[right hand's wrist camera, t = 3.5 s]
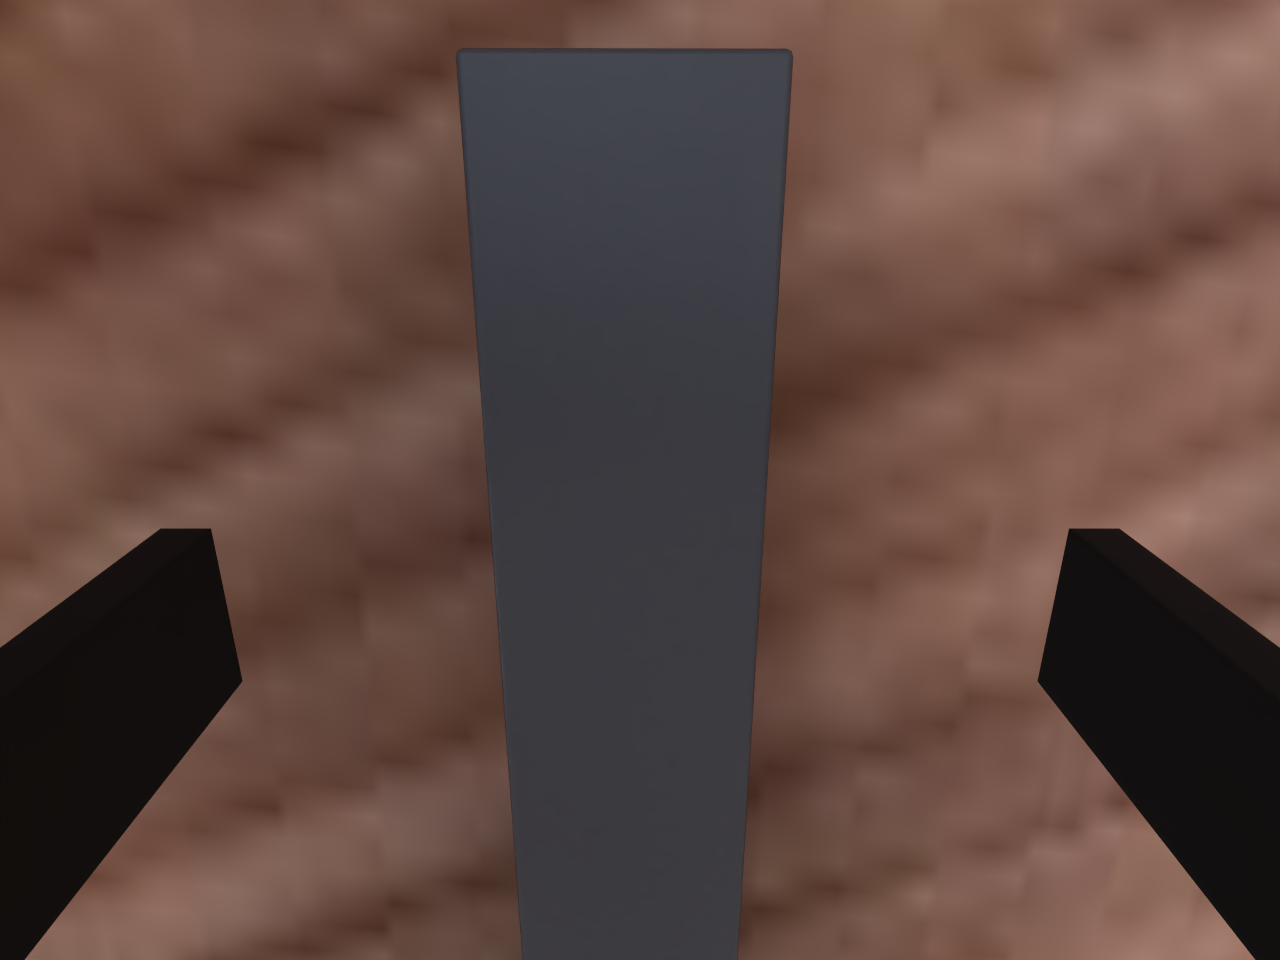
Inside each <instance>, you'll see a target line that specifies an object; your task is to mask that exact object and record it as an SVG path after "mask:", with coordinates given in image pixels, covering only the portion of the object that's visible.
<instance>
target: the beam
mask: <svg viewBox="0 0 1280 960" xmlns="http://www.w3.org/2000/svg"><path fill="white" fill-rule="evenodd" d="M456 63H457V77H458V90H459V104H460V117H461V131H462V145H463V158H464V172H465V185H466V199H467V212H468V226H469V239H470V253H471V267H472V280H473V294H474V307H475V321H476V334H477V348H478V361H479V375H480V389H481V402H482V416H483V429H484V443H485V456H486V470H487V483H488V497H489V511H490V524H491V538H492V551H493V565H494V578H495V592H496V605H497V619H498V633H499V646H500V660H501V673H502V687H503V700H504V714H505V727H506V741H507V755H508V768H509V782H510V795H511V809H512V822H513V836H514V849H515V863H516V877H517V890H518V904H519V917H520V931H521V944H522V958H523V960H738V944H739V927H740V911H741V895H742V879H743V862H744V846H745V830H746V814H747V797H748V781H749V765H750V749H751V732H752V716H753V700H754V684H755V667H756V651H757V635H758V619H759V602H760V586H761V570H762V554H763V538H764V521H765V505H766V489H767V473H768V456H769V440H770V424H771V408H772V391H773V375H774V359H775V343H776V326H777V310H778V294H779V278H780V261H781V245H782V229H783V213H784V196H785V180H786V164H787V148H788V131H789V115H790V99H791V83H792V66H793V55H792V51H790V50H788V49H608V48H462V49H460V50H458V51H457V54H456Z"/></svg>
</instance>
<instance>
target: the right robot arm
mask: <svg viewBox="0 0 1280 960" xmlns="http://www.w3.org/2000/svg"><path fill="white" fill-rule="evenodd" d="M241 682H242V677H241V672H240V667H239V662H238V658H237V653H236V648H235V643H234V638H233V633H232V628H231V624H230V619H229V614H228V609H227V604H226V599H225V595H224V590H223V585H222V580H221V575H220V570H219V566H218V561H217V556H216V551H215V546H214V541H213V536H212V532H211V529H160V530H158V531H157V532H156V533H154V534H153V535H152V536H150V537H149V538H148V539H146V540H145V541H143V542H142V543H141V544H139V545H138V546H137V547H135V548H134V549H133V550H131V551H130V552H129V553H127V554H126V555H125V556H123V557H122V558H121V559H119V560H118V561H117V562H115V563H114V564H112V565H111V566H110V567H108V568H107V569H106V570H104V571H103V572H102V573H100V574H99V575H98V576H96V577H95V578H94V579H92V580H91V581H90V582H88V583H87V584H86V585H84V586H83V587H82V588H80V589H79V590H77V591H76V592H75V593H73V594H72V595H71V596H69V597H68V598H67V599H65V600H64V601H63V602H61V603H60V604H59V605H57V606H56V607H55V608H53V609H52V610H51V611H49V612H48V613H46V614H45V615H44V616H42V617H41V618H40V619H38V620H37V621H36V622H34V623H33V624H32V625H30V626H29V627H28V628H26V629H25V630H24V631H22V632H21V633H20V634H18V635H17V636H15V637H14V638H13V639H11V640H10V641H9V642H7V643H6V644H5V645H3V646H2V647H1V648H0V960H25V958H26V957H27V956H28V955H29V953H30V952H31V951H32V950H33V948H34V947H35V946H36V944H37V943H38V942H39V941H40V939H41V938H42V937H43V935H44V934H45V933H46V932H47V930H48V929H49V928H50V927H51V925H52V924H53V923H54V921H55V920H56V919H57V918H58V916H59V915H60V914H61V912H62V911H63V910H64V909H65V907H66V906H67V905H68V904H69V902H70V901H71V900H72V898H73V897H74V896H75V895H76V893H77V892H78V891H79V889H80V888H81V887H82V886H83V884H84V883H85V882H86V880H87V879H88V878H89V877H90V875H91V874H92V873H93V872H94V870H95V869H96V868H97V866H98V865H99V864H100V863H101V861H102V860H103V859H104V857H105V856H106V855H107V854H108V852H109V851H110V850H111V849H112V847H113V846H114V845H115V843H116V842H117V841H118V840H119V838H120V837H121V836H122V834H123V833H124V832H125V831H126V829H127V828H128V827H129V826H130V824H131V823H132V822H133V820H134V819H135V818H136V817H137V815H138V814H139V813H140V811H141V810H142V809H143V808H144V806H145V805H146V804H147V803H148V801H149V800H150V799H151V797H152V796H153V795H154V794H155V792H156V791H157V790H158V788H159V787H160V786H161V785H162V783H163V782H164V781H165V780H166V778H167V777H168V776H169V774H170V773H171V772H172V771H173V769H174V768H175V767H176V765H177V764H178V763H179V762H180V760H181V759H182V758H183V756H184V755H185V754H186V753H187V751H188V750H189V749H190V748H191V746H192V745H193V744H194V742H195V741H196V740H197V739H198V737H199V736H200V735H201V733H202V732H203V731H204V730H205V728H206V727H207V726H208V725H209V723H210V722H211V721H212V719H213V718H214V717H215V716H216V714H217V713H218V712H219V710H220V709H221V708H222V707H223V705H224V704H225V703H226V702H227V700H228V699H229V698H230V696H231V695H232V694H233V693H234V691H235V690H236V689H237V687H238V686H239V685H240V684H241ZM1038 682H1039V684H1040V685H1041V686H1042V687H1043V689H1044V690H1045V691H1046V693H1047V694H1048V695H1049V696H1050V698H1051V699H1052V700H1053V702H1054V703H1055V704H1056V705H1057V707H1058V708H1059V709H1060V710H1061V712H1062V713H1063V714H1064V716H1065V717H1066V718H1067V719H1068V721H1069V722H1070V723H1071V725H1072V726H1073V727H1074V728H1075V730H1076V731H1077V732H1078V733H1079V735H1080V736H1081V737H1082V739H1083V740H1084V741H1085V742H1086V744H1087V745H1088V746H1089V748H1090V749H1091V750H1092V751H1093V753H1094V754H1095V755H1096V756H1097V758H1098V759H1099V760H1100V762H1101V763H1102V764H1103V765H1104V767H1105V768H1106V769H1107V771H1108V772H1109V773H1110V774H1111V776H1112V777H1113V778H1114V780H1115V781H1116V782H1117V783H1118V785H1119V786H1120V787H1121V788H1122V790H1123V791H1124V792H1125V794H1126V795H1127V796H1128V797H1129V799H1130V800H1131V801H1132V803H1133V804H1134V805H1135V806H1136V808H1137V809H1138V810H1139V811H1140V813H1141V814H1142V815H1143V817H1144V818H1145V819H1146V820H1147V822H1148V823H1149V824H1150V826H1151V827H1152V828H1153V829H1154V831H1155V832H1156V833H1157V834H1158V836H1159V837H1160V838H1161V840H1162V841H1163V842H1164V843H1165V845H1166V846H1167V847H1168V849H1169V850H1170V851H1171V852H1172V854H1173V855H1174V856H1175V857H1176V859H1177V860H1178V861H1179V863H1180V864H1181V865H1182V866H1183V868H1184V869H1185V870H1186V872H1187V873H1188V874H1189V875H1190V877H1191V878H1192V879H1193V880H1194V882H1195V883H1196V884H1197V886H1198V887H1199V888H1200V889H1201V891H1202V892H1203V893H1204V895H1205V896H1206V897H1207V898H1208V900H1209V901H1210V902H1211V904H1212V905H1213V906H1214V907H1215V909H1216V910H1217V911H1218V912H1219V914H1220V915H1221V916H1222V918H1223V919H1224V920H1225V921H1226V923H1227V924H1228V925H1229V927H1230V928H1231V929H1232V930H1233V932H1234V933H1235V934H1236V935H1237V937H1238V938H1239V939H1240V941H1241V942H1242V943H1243V944H1244V946H1245V947H1246V948H1247V950H1248V951H1249V952H1250V953H1251V955H1252V956H1253V957H1254V958H1255V960H1280V648H1279V647H1278V646H1277V645H1275V644H1274V643H1273V642H1271V641H1270V640H1269V639H1267V638H1266V637H1265V636H1263V635H1262V634H1260V633H1259V632H1258V631H1256V630H1255V629H1254V628H1252V627H1251V626H1250V625H1248V624H1247V623H1246V622H1244V621H1243V620H1242V619H1240V618H1239V617H1238V616H1236V615H1235V614H1234V613H1232V612H1231V611H1229V610H1228V609H1227V608H1225V607H1224V606H1223V605H1221V604H1220V603H1219V602H1217V601H1216V600H1215V599H1213V598H1212V597H1211V596H1209V595H1208V594H1207V593H1205V592H1204V591H1203V590H1201V589H1200V588H1198V587H1197V586H1196V585H1194V584H1193V583H1192V582H1190V581H1189V580H1188V579H1186V578H1185V577H1184V576H1182V575H1181V574H1180V573H1178V572H1177V571H1176V570H1174V569H1173V568H1172V567H1170V566H1169V565H1168V564H1166V563H1165V562H1163V561H1162V560H1161V559H1159V558H1158V557H1157V556H1155V555H1154V554H1153V553H1151V552H1150V551H1149V550H1147V549H1146V548H1145V547H1143V546H1142V545H1141V544H1139V543H1138V542H1137V541H1135V540H1134V539H1132V538H1131V537H1130V536H1128V535H1127V534H1126V533H1124V532H1123V531H1122V530H1120V529H1069V532H1068V536H1067V541H1066V546H1065V551H1064V556H1063V561H1062V566H1061V570H1060V575H1059V580H1058V585H1057V590H1056V595H1055V599H1054V604H1053V609H1052V614H1051V619H1050V624H1049V628H1048V633H1047V638H1046V643H1045V648H1044V653H1043V658H1042V662H1041V667H1040V672H1039V677H1038Z"/></svg>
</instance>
